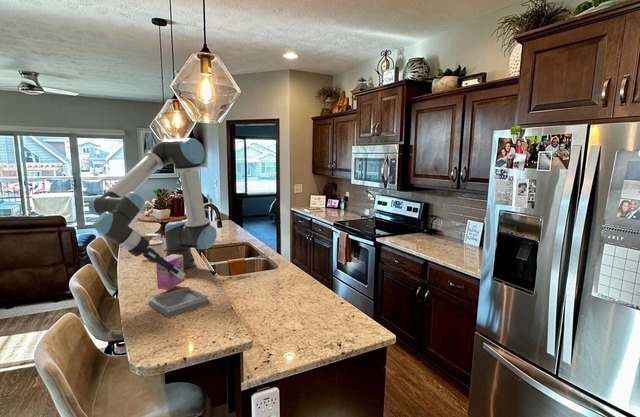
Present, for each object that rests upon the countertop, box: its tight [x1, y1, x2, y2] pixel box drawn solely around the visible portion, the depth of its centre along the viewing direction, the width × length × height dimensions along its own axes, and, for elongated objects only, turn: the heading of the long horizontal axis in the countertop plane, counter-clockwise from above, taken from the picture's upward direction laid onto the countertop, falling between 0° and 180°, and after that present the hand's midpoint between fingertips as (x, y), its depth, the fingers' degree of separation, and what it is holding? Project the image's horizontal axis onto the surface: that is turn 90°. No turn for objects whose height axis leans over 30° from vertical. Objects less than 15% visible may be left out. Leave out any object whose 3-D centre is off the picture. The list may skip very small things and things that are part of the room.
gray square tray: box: [147, 292, 211, 318], centre depth 128 cm, size 16×16×1 cm
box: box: [155, 254, 185, 291], centre depth 142 cm, size 10×6×12 cm, turn 168°
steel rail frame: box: [149, 286, 209, 313], centre depth 128 cm, size 15×15×2 cm
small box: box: [143, 233, 162, 241], centre depth 209 cm, size 8×6×10 cm
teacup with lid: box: [141, 238, 165, 261], centre depth 192 cm, size 12×9×12 cm
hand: (178, 273), depth 145 cm, fingers closed on box, 10 cm apart
